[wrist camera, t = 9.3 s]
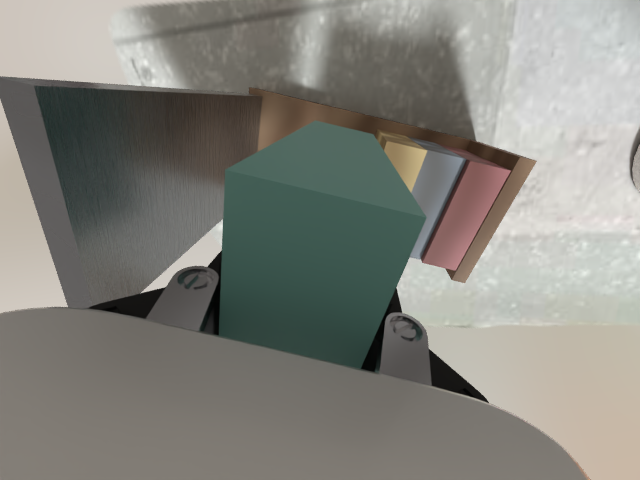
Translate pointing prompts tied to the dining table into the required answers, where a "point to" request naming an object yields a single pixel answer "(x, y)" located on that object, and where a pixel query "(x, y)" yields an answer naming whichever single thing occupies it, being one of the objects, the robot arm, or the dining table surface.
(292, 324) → the loose book
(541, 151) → the dining table surface
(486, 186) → the book rack
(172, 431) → the robot arm
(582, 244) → the dining table surface
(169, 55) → the dining table surface
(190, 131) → the bookend
